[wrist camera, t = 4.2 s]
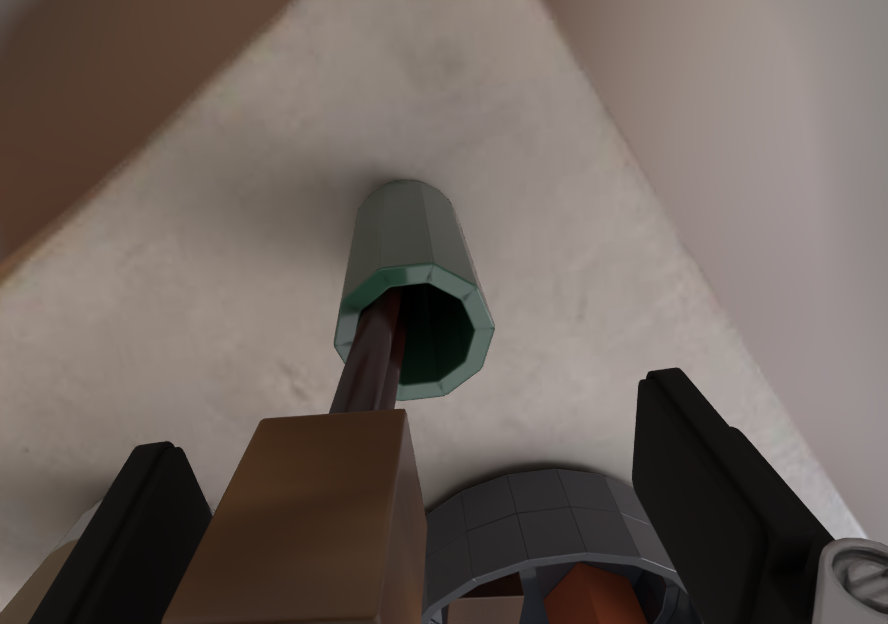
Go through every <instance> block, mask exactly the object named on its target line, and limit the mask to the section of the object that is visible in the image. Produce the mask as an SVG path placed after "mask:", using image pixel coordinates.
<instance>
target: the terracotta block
mask: <svg viewBox="0 0 888 624" xmlns="http://www.w3.org/2000/svg"><path fill="white" fill-rule="evenodd" d="M543 602H544V606H545V610H546V613H547V617H548V621H549V624H648V623H647V621H646V619H645V616H644V614H643V612H642V609H641V607H640V605H639V602H638V600H637V597H636V595H635V593H634V590H633V588H632V586H631V583H630V581H629V579H628V578H627V577H624V576H621V575H617V574H614V573H611V572H608V571H605V570H602V569H599V568H595V567H592V566H589V565H586V564H583V563H580V562H578V563H577V564H576V565H575V566H574V567H573V568H572V569H571V570H570V571H569V573H568V574H567V575H566V576H565V577H564V578H563V579H562V580H561V581H560V582H559V583H558V585H557V586H556V587H555V588H554V589H553V590H552V591H551V592H550V593H549V594H548V596H547V597H546V598H545V599H544V600H543Z"/></svg>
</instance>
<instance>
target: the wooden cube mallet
mask: <svg viewBox="0 0 888 624" xmlns="http://www.w3.org/2000/svg"><path fill="white" fill-rule="evenodd" d="M414 290H415V284H413V285H404V286H395V287H389V288H388V289H387V290H386V291H385V292H383V293H382V294H381V295H380V296H379V297H377V298H376V299H375V300H374V301H373V302H371V303H370V304H369V305H368V306H367V307H365V308H364V309H363V312H362V315H361V318H360V321H359V324H358V327H357V330H356V333H355V336H354V339H353V342H352V345H351V348H350V351H349V354H348V357H347V360H346V363H345V366H344V369H343V372H342V375H341V378H340V381H339V384H338V387H337V390H336V393H335V396H334V399H333V402H332V405H331V408H330V411H329V414H320V415H306V416H292V417H278V418H265V419H262V420H261V421H260V423H259V425H258V427H257V429H256V431H255V433H254V435H253V437H252V439H251V441H250V443H249V445H248V447H247V449H246V451H245V453H244V455H243V457H242V459H241V461H240V463H239V465H238V467H237V469H236V471H235V473H234V475H233V477H232V479H231V481H230V483H229V485H228V487H227V489H226V491H225V493H224V495H223V497H222V499H221V501H220V503H219V505H218V507H217V509H216V511H215V513H214V515H213V517H212V519H211V521H210V523H209V525H208V527H207V529H206V531H205V533H204V535H203V537H202V539H201V541H200V543H199V545H198V547H197V549H196V551H195V554H194V556H193V558H192V560H191V562H190V564H189V566H188V568H187V570H186V572H185V574H184V576H183V578H182V580H181V582H180V584H179V586H178V588H177V590H176V592H175V594H174V596H173V598H172V600H171V602H170V604H169V606H168V608H167V610H166V612H165V614H164V616H163V618H162V622H161V624H421V612H422V597H423V583H424V568H425V553H426V538H427V522H426V516H425V511H424V505H423V500H422V494H421V489H420V483H419V478H418V472H417V467H416V461H415V456H414V450H413V445H412V439H411V434H410V428H409V423H408V418H407V413H406V411H405V409H394V407H395V401H396V395H397V390H398V384H399V378H400V372H401V366H402V360H403V355H404V349H405V343H406V337H407V331H408V325H409V320H410V314H411V308H412V302H413V296H414Z"/></svg>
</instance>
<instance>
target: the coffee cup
mask: <svg viewBox="0 0 888 624" xmlns="http://www.w3.org/2000/svg"><path fill="white" fill-rule="evenodd" d="M103 499H104V498H103ZM103 499H101V500H100V501H98V502H97V504H96V505H95V506H94V507H93V508H91V509H90V510H88V511H87V512H85V513H84V514H83V515H82V516H81V518H80V519H79V520H78V521H77V522H76V523H75V525H74V526H73V527H72V528H71V529H70V531H69V532H68V533H67V534H66V535H65V537H64V538H63V539H62V540H61V541H60V543H59V544H58V545H57V546H56V547H55V549H54V550H53V551H52V552H51V553H50V555H49V556H48V557H47V558H46V559H45V560H44V562H43V563H42V564H41V565H40V566H39V568H38V569H37V570H36V571H35V572H34V574H33V575H32V576H31V577H30V578H29V580H28V581H27V582H26V583H25V584H24V586H23V587H22V588H21V589H20V590H19V591H18V593H17V594H16V595H15V596H14V597H13V599H12V600H11V601H10V602H9V603H8V605H7V606H6V607H5V608H4V609H3V611H2V612H1V613H0V624H28V622H29V621H30V619H31V617H32V616H33V614H34V613H35V611H36V609H37V608H38V606H39V604H40V603H41V601H42V599H43V598H44V596H45V594H46V593H47V591H48V589H49V588H50V586H51V584H52V583H53V581H54V580H55V578H56V576H57V575H58V573H59V571H60V570H61V568H62V566H63V565H64V563H65V561H66V560H67V558H68V556H69V555H70V553H71V552H72V550H73V548H74V547H75V545H76V543H77V542H78V540H79V538H80V537H81V535H82V533H83V532H84V530H85V528H86V527H87V525H88V524H89V522H90V520H91V519H92V517H93V515H94V514H95V512H96V510H97V509H98V507H99V505H100V504H101V502H102V500H103ZM209 509H210V508H209ZM210 511H211V513H212V515H214V513H213V512H212V510H211V509H210Z"/></svg>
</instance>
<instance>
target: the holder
mask: <svg viewBox="0 0 888 624" xmlns="http://www.w3.org/2000/svg"><path fill="white" fill-rule="evenodd" d="M413 284H415V290H414V296H413V302H412V308H411V314H410V320H409V325H408V331H407V337H406V343H405V349H404V355H403V360H402V366H401V372H400V378H399V384H398V390H397V395H396V400H397V401H405V400H414V399H423V398H432V397H440V396H445V395H447V394H449V393H450V392H451V391H453V390H454V389H455V388H457V387H458V386H459V385H461V384H462V383H463V382H465V381H466V380H467V379H469V378H470V377H471V376H473V375H474V374H476V373H477V372H478V371H480V370H481V368H482V367H483V364H484V361H485V358H486V355H487V352H488V349H489V346H490V342H491V339H492V336H493V333H494V330H495V327H494V326H495V325H494V322H493V319H492V316H491V313H490V310H489V307H488V304H487V301H486V298H485V295H484V292H483V289H482V287H481V284H480V281H479V278H478V275H477V272H476V269H475V266H474V263H473V260H472V257H471V254H470V251H469V248H468V246H467V243H466V240H465V237H464V234H463V231H462V228H461V226H460V223H459V221H458V219H457V216H456V213H455V211H454V209H453V207H452V204H451V202H450V201H449V199H447V198H446V197H445V196H444V195H443V194H442V193H441V192H440V191H439V190H437V189H436V188H434V187H432V186H431V185H428V184H426V183H423V182H419V181H414V180H399V181H394V182H390V183H387V184H385V185H383V186H381V187H379V188H377V189H376V190H375V191H373V192H372V193H371V194H370V195H369V196H368V197H367V198H366V200H365V201H364V202H363V204H362V206H361V207H359V209H358V211H357V216H356V222H355V227H354V232H353V238H352V243H351V249H350V254H349V259H348V265H347V270H346V276H345V281H344V286H343V292H342V297H341V302H340V308H339V314H338V320H337V326H336V331H335V337H334V347H335V349H336V350H337V352H338V354H339V355H340V357H341V359H342V360H343V362H344V364H345V363H346V360H347V357H348V354H349V351H350V348H351V345H352V342H353V339H354V336H355V333H356V330H357V327H358V324H359V321H360V318H361V315H362V312H363V309H364V308H365V307H367V306H368V305H369V304H370V303H371V302H373V301H374V300H375V299H376V298H377V297H379V296H380V295H381V294H382V293H383V292H385V291H386V290H387V289H388V288H389V287H395V286H404V285H413Z"/></svg>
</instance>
